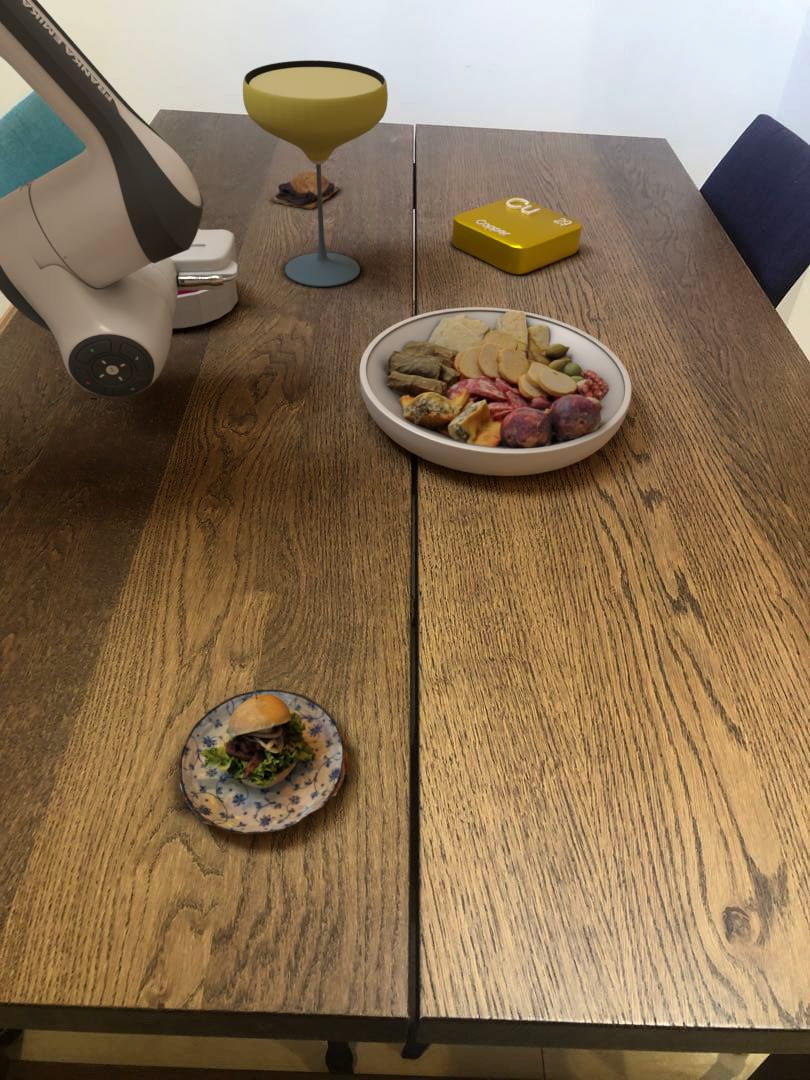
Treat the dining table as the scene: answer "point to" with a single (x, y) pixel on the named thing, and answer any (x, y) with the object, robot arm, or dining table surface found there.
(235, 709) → the burger
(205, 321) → the white ledged dish
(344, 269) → the cocktail glass
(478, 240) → the element tile
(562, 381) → the bowl
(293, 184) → the topped cracker
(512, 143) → the dining table surface
